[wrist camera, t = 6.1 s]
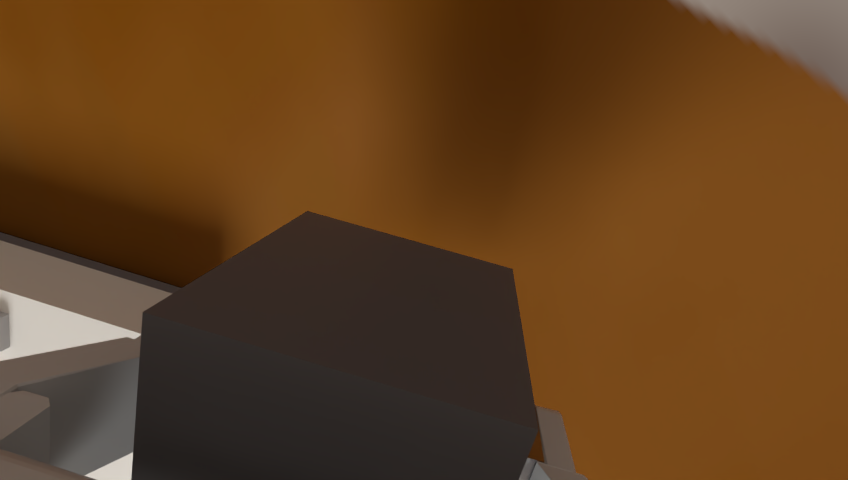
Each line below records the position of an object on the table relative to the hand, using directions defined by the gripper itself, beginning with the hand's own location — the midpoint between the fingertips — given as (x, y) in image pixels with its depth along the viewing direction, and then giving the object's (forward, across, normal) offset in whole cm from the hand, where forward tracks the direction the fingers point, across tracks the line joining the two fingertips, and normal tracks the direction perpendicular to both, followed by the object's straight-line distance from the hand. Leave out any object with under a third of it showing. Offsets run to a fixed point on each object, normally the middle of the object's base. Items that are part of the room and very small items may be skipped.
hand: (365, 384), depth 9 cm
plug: (+2, 0, 0) cm, 2 cm away
